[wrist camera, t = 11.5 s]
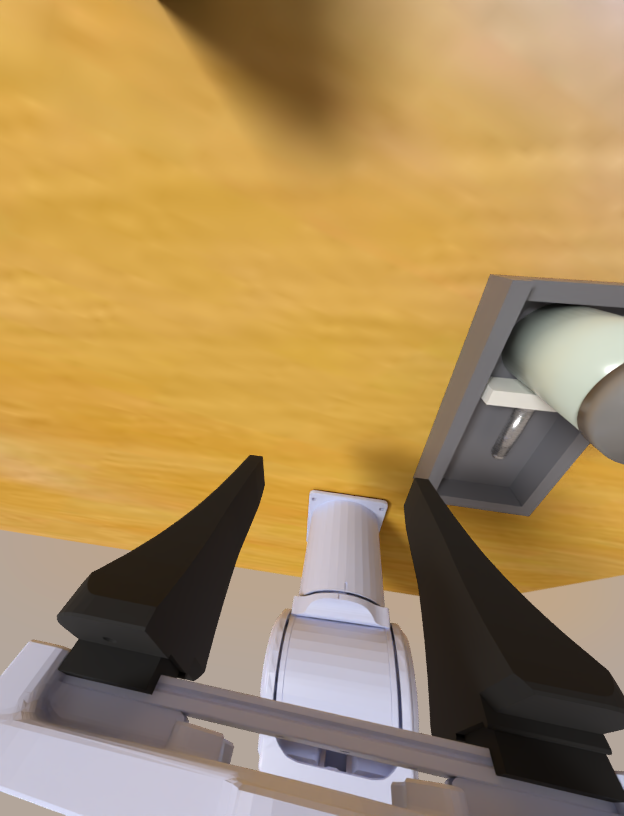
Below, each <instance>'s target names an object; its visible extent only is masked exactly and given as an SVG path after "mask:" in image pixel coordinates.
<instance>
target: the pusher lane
mask: <svg viewBox="0 0 624 816" xmlns="http://www.w3.org/2000/svg"><path fill="white" fill-rule="evenodd" d="M553 303H566V304H579V305H584V306H588V307H591V308H595V309H598V310H602V311H606V312H609V313H613V314H617V315H620V316H624V283H614V282H599V281H583V280H568V279H553V278H537V277H522V276H507V275H492V274H490V276H489V279H488V282H487V284H486V287H485V290H484V292H483V295H482V298H481V300H480V303H479V306H478V308H477V311H476V313H475V316H474V319H473V321H472V324H471V327H470V329H469V332H468V335H467V337H466V340H465V342H464V345H463V348H462V350H461V353H460V356H459V358H458V361H457V364H456V366H455V369H454V371H453V374H452V377H451V379H450V382H449V385H448V387H447V390H446V393H445V395H444V398H443V400H442V403H441V406H440V408H439V411H438V414H437V416H436V419H435V422H434V424H433V427H432V429H431V432H430V435H429V437H428V440H427V443H426V445H425V448H424V451H423V453H422V456H421V458H420V461H419V464H418V466H417V469H416V472H415V474H414V477H413V478H423V479H429V481H430V482H431V483H432V485H433V486H434V488H435V489H436V491H437V492H438V494H439V495H440V497H441V498H442V500H443V501H444V503H445V504H447V505H454V506H461V507H468V508H474V509H481V510H488V511H495V512H502V513H509V514H516V515H523V516H530V514H531V513H532V512H533V511H534V510H535V508H536V507H537V506H538V505H539V504H540V502H541V501H542V500H543V499H544V498H545V496H546V495H547V494H548V493H549V492H550V490H551V489H552V488H553V487H554V486H555V484H556V483H557V482H558V481H559V480H560V478H561V477H562V476H563V475H564V474H565V472H566V471H567V470H568V469H569V468H570V466H571V465H572V464H573V463H574V462H575V460H576V459H577V458H578V457H579V456H580V454H581V453H582V452H583V451H584V450H585V448H586V447H587V446H588V445H589V444H590V442H588V441H587V440H586V439H585V438H584V437H583V436H582V435H581V433H580V431H579V430H578V429H577V428H576V427H575V426H573V425H572V424H571V423H570V422H569V421H567V420H566V419H565V418H564V417H563V416H561V415H560V414H559V413H558V412H550V411H541V410H535V411H534V413H533V415H532V416H531V418H530V419H529V421H528V423H527V424H526V426H525V427H524V429H523V431H522V432H521V434H520V435H519V437H518V439H517V440H516V442H515V443H514V445H513V447H512V448H511V450H510V451H509V453H508V455H507V456H506V457H505V458H504V459H501V460H498V459H495V458H493V457H492V455H491V449H492V447H493V446H494V444H495V442H496V440H497V439H498V437H499V435H500V433H501V431H502V430H503V428H504V426H505V424H506V423H507V421H508V419H509V417H510V416H511V414H512V412H513V410H514V409H515V408H514V407H504V406H495V405H486V403H485V402H484V401H483V400H482V398H481V395H482V393H483V391H484V388H485V386H486V384H487V382H488V380H489V378H490V377H499V378H509V379H517V378H516V377H515V376H514V375H512V374H511V373H510V372H509V371H508V370H507V369H506V368H505V366H504V364H503V362H502V357H501V352H502V350H503V348H504V346H505V344H506V342H507V339H508V337H509V335H510V333H511V331H512V329H513V327H514V326H515V325H516V324H517V323H518V322H519V321H520V320H521V319H522V318H524V317H525V316H526V315H528V314H529V313H531V312H533V311H535V310H537V309H539V308H541V307H543V306H546V305H550V304H553Z"/></svg>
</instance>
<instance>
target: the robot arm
mask: <svg viewBox="0 0 624 816" xmlns="http://www.w3.org/2000/svg"><path fill="white" fill-rule="evenodd" d="M264 486H265V481H264V468H263V457H262V456H255V455H250V456H248V457H247V458H246V460H245V461H244V462H243V463H242V464H241V465H240V466H239V467H238V468H237V469H236V470H235V471H234V472H233V473H232V474H231V475H230V476H229V477H228V478H227V479H226V480H225V481H224V482H223V483H222V484H221V485H220V486H219V487H218V488H217V489H216V490H215V491H214V492H213V493H211V494H210V495H209V496H208V497H207V498H206V499H205V500H204V501H202V502H201V503H200V504H199V505H198V506H197V507H195V508H194V509H193V510H192V511H190V512H189V513H188V514H186V515H185V516H184V517H182V518H181V519H180V520H178V521H177V522H176V523H174V524H173V525H171V526H170V527H169V528H167V529H166V530H164V531H163V532H161V533H160V534H158V535H157V536H155V537H154V538H152V539H150V540H149V541H147V542H145V543H144V544H142V545H141V546H139V547H137V548H136V549H134V550H132V551H131V552H129V553H127V554H126V555H124V556H122V557H120V558H118V559H116V560H114V561H113V562H111V563H109V564H107V565H105V566H104V567H102V568H100V569H98V570H96V571H94V572H92V573H91V574H90V575H89V577H88V578H87V579H86V580H85V581H84V582H83V583H82V584H81V586H80V587H79V588H78V590H77V591H76V592H75V594H74V595H73V596H72V597H71V599H70V600H69V601H68V602H67V604H66V605H65V606H64V607H63V609H62V610H61V611H60V612H59V614H58V615H57V620H58V622H59V623H60V624H61V625H62V626H63V627H64V628H65V629H67V630H68V631H69V632H71V633H72V634H73V635H74V636H76V637H77V638H78V641H77V642H76V644H75V645H74V647H73V648H72V649H69V648H66V647H64V646H59V645H56V644H51V643H47V642H42V641H37V640H31V641H29V642H28V643H27V644H26V646H25V647H24V648H23V649H22V650H21V652H20V653H19V654H18V655H17V656H16V658H15V659H14V660H13V661H12V663H11V664H10V665H9V666H8V667H7V669H6V670H5V671H4V672H3V674H2V675H1V676H0V791H1V792H4V793H7V794H9V795H12V796H15V797H18V798H20V799H23V800H26V801H28V802H31V803H34V804H37V805H39V806H42V807H45V808H47V809H50V810H53V811H56V812H58V813H61V814H64V815H67V816H624V771H614V770H613V768H612V766H611V764H610V762H609V759H608V757H607V756H606V754H607V755H611V754H612V751H611V748H610V746H609V744H608V742H607V740H606V738H605V736H604V735H603V734H605V733H609V732H614V731H618V730H623V729H624V695H623V693H622V692H621V690H620V688H619V687H618V685H617V683H616V682H615V680H614V678H613V677H612V675H611V674H610V672H609V671H608V670H607V669H606V668H605V667H603V666H602V665H601V664H600V663H598V662H597V661H596V660H595V659H594V658H593V657H592V656H590V655H589V654H588V653H587V652H586V651H584V650H583V649H582V648H581V647H580V646H578V645H577V644H576V643H575V642H574V641H572V640H571V639H570V638H569V637H568V636H567V635H565V634H564V633H563V632H562V631H561V630H560V629H559V628H557V627H556V626H555V625H554V624H553V623H552V622H551V621H550V620H549V619H548V618H546V617H545V616H544V615H543V614H542V613H541V612H540V611H539V610H538V609H537V608H536V607H534V606H533V605H532V604H531V603H530V602H529V601H528V600H527V599H526V598H525V597H524V596H523V595H522V594H521V593H520V592H519V591H518V590H517V589H516V588H515V587H514V586H513V585H512V584H511V583H510V582H509V581H508V580H507V579H506V578H505V577H504V576H503V575H502V574H501V572H500V571H499V570H498V569H497V568H496V567H495V566H494V565H493V564H492V563H491V561H490V560H489V559H488V558H487V557H486V556H485V555H484V554H483V552H482V551H481V550H480V549H479V548H478V546H477V545H476V544H475V543H474V541H473V540H472V539H471V538H470V536H469V535H468V534H467V533H466V531H465V530H464V529H463V527H462V526H461V525H460V523H459V522H458V521H457V519H456V518H455V517H454V515H453V514H452V513H451V511H450V510H449V508H448V507H447V505H446V504H445V503H444V501H443V500H442V498H441V497H440V495H439V494H438V492H437V491H436V489H435V488H434V486H433V485H432V483H431V482H430V481H429V479H423V478H414V481H413V483H412V486H411V489H410V491H409V494H408V496H407V499H406V502H405V504H404V513H405V524H406V531H407V536H408V540H409V545H410V550H411V555H412V559H413V564H414V568H415V573H416V578H417V583H418V589H419V596H420V604H421V612H422V621H423V631H424V639H425V650H426V651H425V652H426V663H427V674H428V691H429V706H430V725H431V733H432V736H431V735H426V734H422V733H419V720H418V702H417V691H416V682H415V674H414V668H413V661H412V656H411V651H410V646H409V643H408V639H407V637H406V635H405V634H404V633H403V632H402V630H401V628H400V627H399V625H397V624H395V623H390V618H389V609H388V608H386V607H385V604H384V593H383V579H382V567H381V555H380V542H379V532H380V529H381V525H382V522H383V519H384V516H385V513H386V510H387V507H388V503H387V502H386V501H385V500H379V499H372V498H365V497H359V496H352V495H345V494H338V493H331V492H324V491H318V490H312V491H310V495H309V510H308V525H307V549H306V555H305V561H304V567H303V574H302V580H301V586H300V593H299V596H294V600H293V606H292V609H285V610H284V611H283V612H282V614H281V615H280V616H279V617H278V618H277V619H276V621H275V623H274V625H273V628H272V631H271V634H270V638H269V641H268V646H267V650H266V655H265V660H264V666H263V673H262V681H261V693H260V697H258V696H253V695H249V694H244V693H240V692H235V691H230V690H226V689H221V688H217V687H213V686H209V685H204V684H200V683H195V682H190V681H186V680H182V679H187V680H191V681H194V680H196V679H198V678H199V677H200V676H201V675H202V674H203V673H204V672H205V669H206V664H207V660H208V657H209V653H210V649H211V646H212V642H213V638H214V634H215V631H216V627H217V623H218V620H219V617H220V613H221V610H222V606H223V603H224V599H225V596H226V593H227V589H228V586H229V583H230V579H231V576H232V573H233V570H234V567H235V564H236V561H237V558H238V555H239V552H240V550H241V547H242V545H243V543H244V540H245V538H246V535H247V533H248V531H249V528H250V526H251V523H252V521H253V519H254V516H255V514H256V511H257V509H258V506H259V504H260V500H261V497H262V493H263V490H264ZM177 678H181V679H177ZM187 716H188V717H192V718H196V719H201V720H205V721H209V722H213V723H217V724H222V725H226V726H230V727H235V728H238V729H243V730H247V731H251V732H256V733H259V734H260V735H259V744H258V752H259V756H260V758H259V771H257V770H252V769H248V768H243V767H239V766H235V765H231V764H230V761H231V757H232V753H233V748H234V746H233V743H231V742H229V741H228V740H226V739H224V737H223V734H221V733H218V732H215V731H212V730H209V729H206V728H203V727H200V726H196V725H193V724H190V723H189V720H188V718H187ZM418 771H419V772H423V773H427V774H432V775H435V776H440V777H444V778H448V779H447V780H446V782H445V784H442V783H435V782H430V781H423V780H418Z"/></svg>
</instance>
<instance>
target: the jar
mask: <svg viewBox="0 0 624 816" xmlns="http://www.w3.org/2000/svg"><path fill="white" fill-rule="evenodd" d="M501 357H502V362H503V364H504V366H505V368H506V369H507V370H508V371H509V372H510V373H511V374H512V375H514V376H515V377H516V378H517V379H518V380H520V381H521V382H522V383H523V384H524V385H526V386H527V387H528V388H529V389H530V390H532V391H533V392H534V393H535V394H536V395H538V396H539V397H540V398H541V399H542V400H544V401H545V402H546V403H547V404H548V405H550V406H551V407H552V408H553V409H554V410H555V411H557V412H558V413H559V414H560V415H561V416H563V417H564V418H565V419H566V420H567V421H569V422H570V423H571V424H572V425H573V426H575V427H576V428H577V429H578V430H579V431H580V433H581V435H582V436H583V437H584V438H585V439H586V440H587V441H588V442H590V443H591V444H592V445H593V446H594V447H595V448H597V449H598V450H599V451H600V452H601V453H602V454H604V455H605V456H606V457H608V458H609V459H611V460H613V461H615V462H618V463H621V464H624V316H620V315H617V314H613V313H609V312H606V311H602V310H598V309H595V308H591V307H588V306H584V305H579V304H566V303H553V304H550V305H546V306H543V307H541V308H539V309H537V310H535V311H533V312H531V313H529V314H528V315H526V316H525V317H524V318H522V319H521V320H520V321H519V322H518V323H517V324H516V325H515V326H514V327H513V329H512V331H511V333H510V335H509V337H508V339H507V342H506V344H505V346H504V348H503V350H502V352H501Z"/></svg>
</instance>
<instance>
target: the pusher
mask: <svg viewBox="0 0 624 816" xmlns="http://www.w3.org/2000/svg"><path fill="white" fill-rule="evenodd" d="M481 398H482V400H483V401H484V402H485V403H486V405H495V406H504V407H514V408H515V409H514V410H513V412H512V414H511V416H510V417H509V419H508V421H507V423H506V424H505V426H504V428H503V430H502V431H501V433H500V435H499V437H498V439H497V440H496V442H495V444H494V446H493V447H492V449H491V455H492V457H493V458H495V459H498V460H501V459H504V458H505V457H506V456H507V455H508V453H509V451H510V450H511V448H512V447H513V445H514V443H515V442H516V440H517V439H518V437H519V435H520V434H521V432H522V431H523V429H524V427H525V426H526V424H527V423H528V421H529V419H530V418H531V416H532V415H533V413H534V411H535V410H541V411H550V412H557V411H555V410H554V409H553V408H552V407H551V406H550V405H548V404H547V403H546V402H545V401H544V400H542V399H541V398H540V397H539V396H538V395H536V394H535V393H534V392H533V391H532V390H530V389H529V388H528V387H527V386H526V385H524V384H523V383H522V382H521V381H520V380H518V379H509V378H499V377H490V378H489V380H488V382H487V384H486V386H485V388H484V391H483V393H482V395H481Z"/></svg>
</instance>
